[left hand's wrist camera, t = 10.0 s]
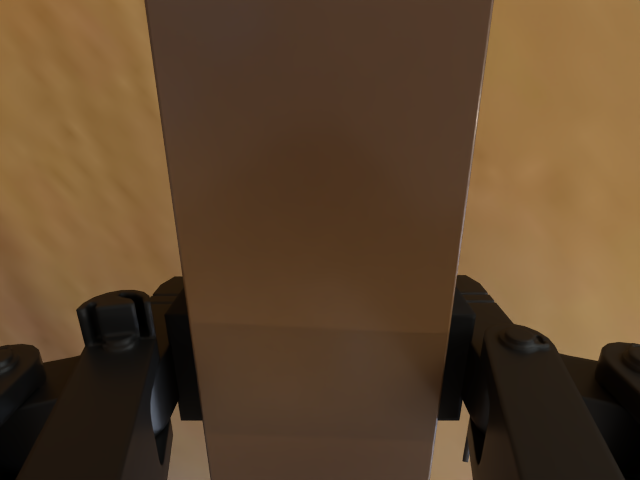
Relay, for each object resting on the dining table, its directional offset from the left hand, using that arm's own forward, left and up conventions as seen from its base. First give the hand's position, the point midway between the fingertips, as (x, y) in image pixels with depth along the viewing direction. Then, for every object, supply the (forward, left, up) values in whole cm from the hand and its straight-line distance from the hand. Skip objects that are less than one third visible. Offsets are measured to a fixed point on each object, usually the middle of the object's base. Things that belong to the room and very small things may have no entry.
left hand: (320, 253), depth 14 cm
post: (+9, -29, -1) cm, 30 cm away
